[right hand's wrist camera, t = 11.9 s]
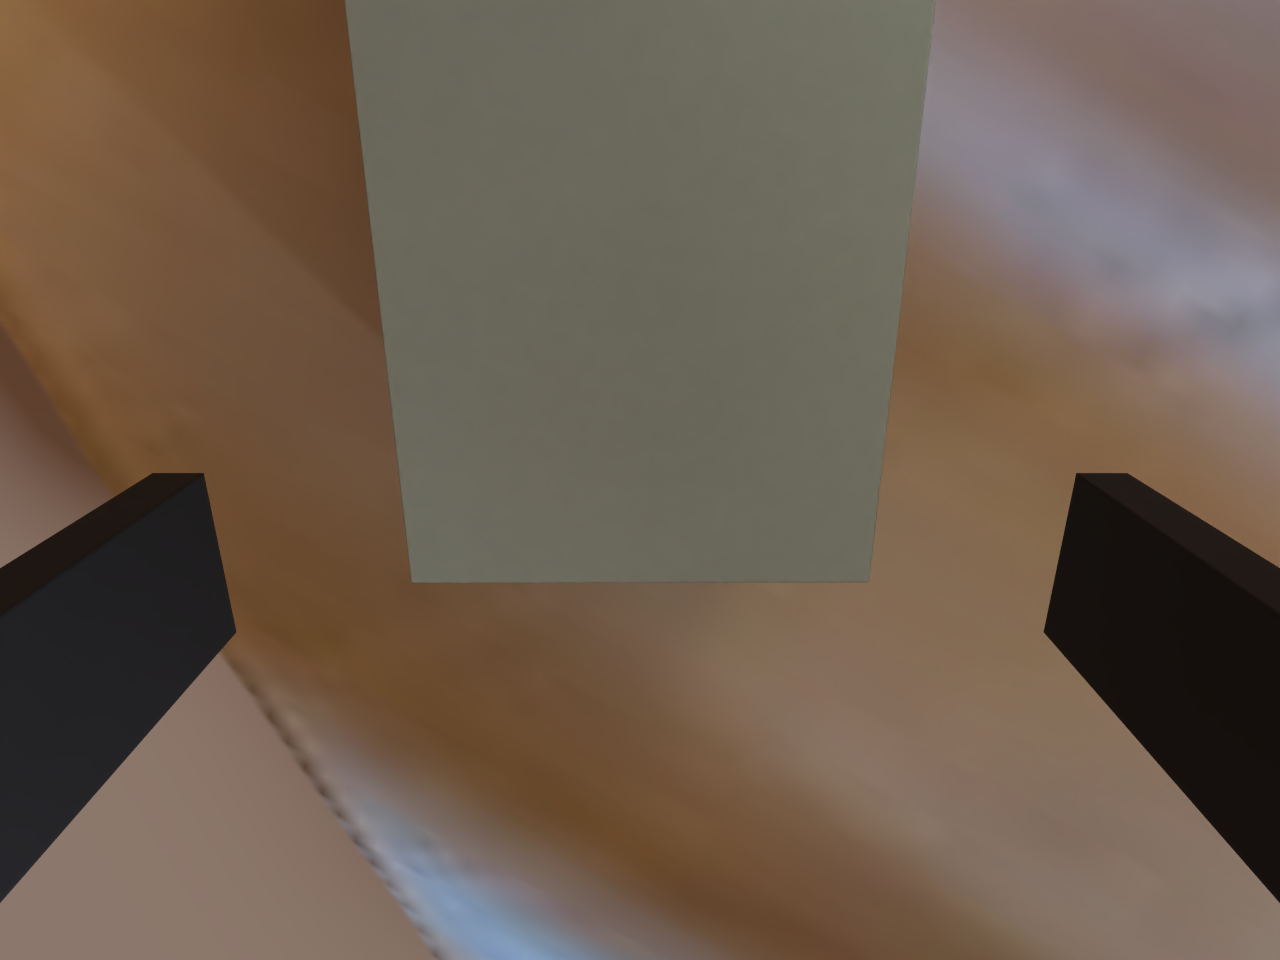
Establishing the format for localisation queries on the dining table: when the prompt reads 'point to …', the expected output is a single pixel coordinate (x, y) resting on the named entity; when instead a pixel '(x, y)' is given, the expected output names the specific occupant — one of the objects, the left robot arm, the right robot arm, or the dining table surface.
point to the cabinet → (640, 278)
